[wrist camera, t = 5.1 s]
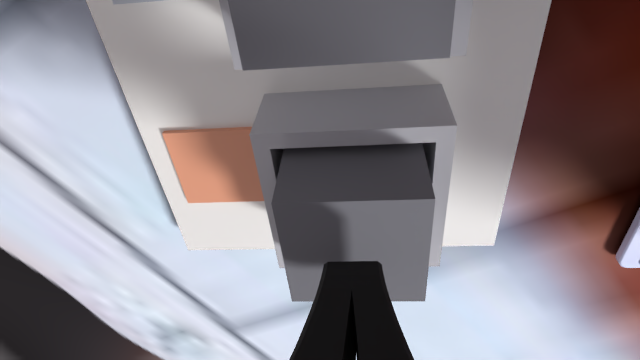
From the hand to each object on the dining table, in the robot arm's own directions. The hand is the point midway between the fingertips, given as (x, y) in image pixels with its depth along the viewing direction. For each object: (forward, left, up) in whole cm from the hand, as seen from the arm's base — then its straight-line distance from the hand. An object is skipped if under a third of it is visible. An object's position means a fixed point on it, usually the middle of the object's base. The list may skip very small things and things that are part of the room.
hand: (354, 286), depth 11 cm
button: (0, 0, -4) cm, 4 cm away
